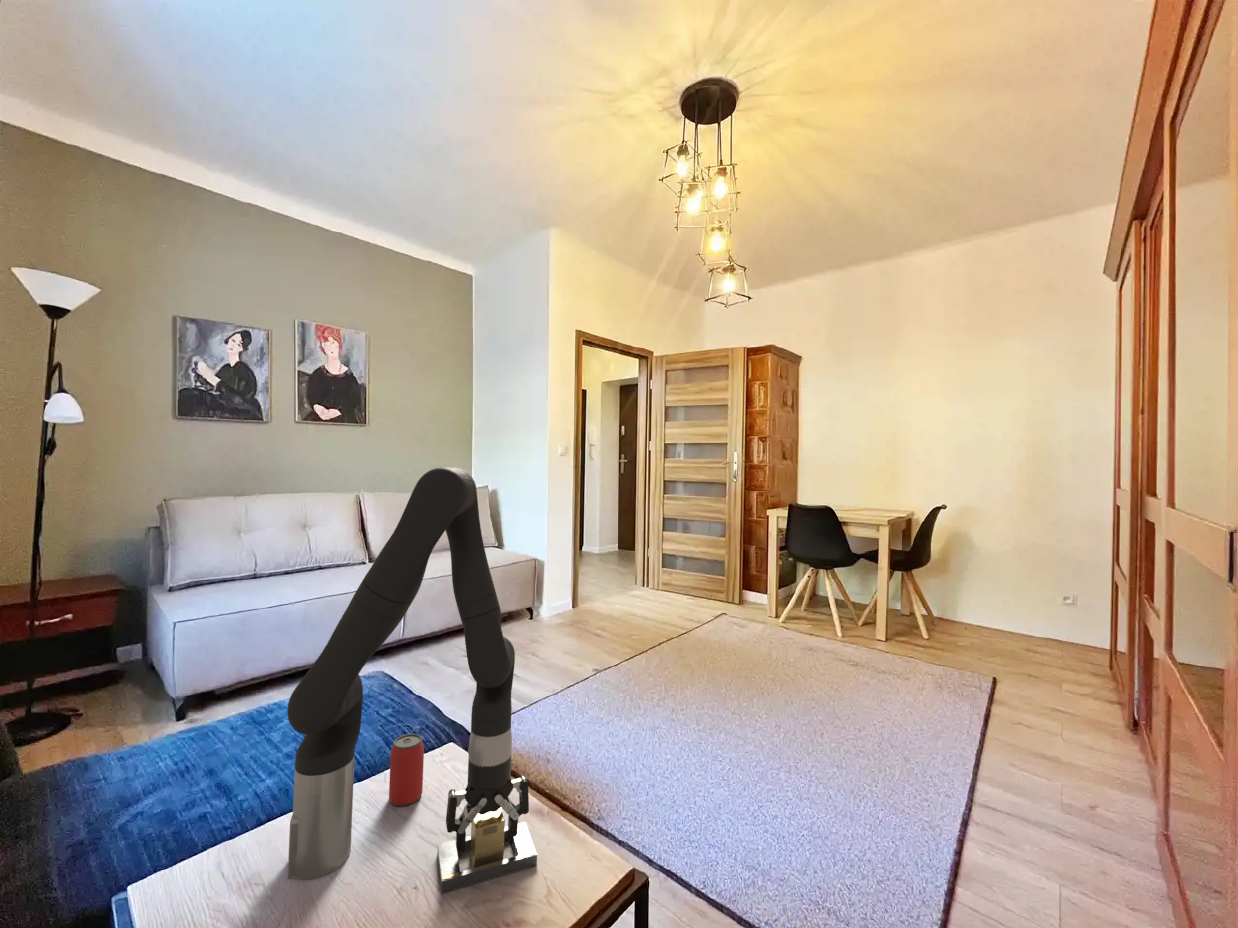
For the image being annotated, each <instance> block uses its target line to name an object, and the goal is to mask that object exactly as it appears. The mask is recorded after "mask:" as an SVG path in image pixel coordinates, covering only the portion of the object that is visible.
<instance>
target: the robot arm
mask: <svg viewBox="0 0 1238 928" xmlns="http://www.w3.org/2000/svg"><path fill="white" fill-rule="evenodd" d="M479 511H480V510H479V500H478V491H477V484H476V482H475V480H474V478H473V476H472V475H471V474H470V473H469V472H468V471H466V470H464V469H462V468H460V467H453V466H452V467H451V466H450V467H449V466H447V467H446V466H444V467H441V466H440V467H435V468H432V469H430V470H428V471H427V472H425V473H424V474H423V475H422V476H421V477H420V478H419V479H418V480H417V482H416V484H415V485H414V487H413V490H412V491H411V494H410V497H409V499H408V501H407V504H406V506H405V508H404V510H403V512H402V515H401V517H400V519H399V521H398V523H397V525H396V527H395V528H394V530H393V531H392V534H391V535H390V536H389V538H388V540H387V542H386V543H385V544H384V545H383V547H382V548H381V550H380V552H379V554H378V555H377V557H376V558H375V560H374V561H373V563H372V565H371V567H370V568H369V570H368V571H367V573H366V574H365V576H364V577H363V579H362V581H361V582H360V584H359V586H358V587H357V589H356V591H355V592H354V594H353V596H352V598H351V600H350V602H349V603H348V605H347V607H346V609H345V610H344V612H343V614H342V616H341V617H340V619H339V621H338V623H337V624H336V627H335V628H334V630H333V632H332V634H331V636H330V638H329V639H328V641H327V643H326V645H325V646H324V648H323V650H322V652H320V655H318V657H317V658H316V660H315V661H314V663H313V664H312V665H311V667H310V668H309V670H307V672H306V673H305V675H304V677H303V678H302V679H301V680H300V682H299V683H298V684H297V686H296V687H294V689H293V691H292V693H291V695H290V697H289V699H288V703H287V712H286V713H287V720H288V721H289V725H290V726H291V728H292V729H293V730H294V731H295V732H297V733H299V734H302V735H305V736H304V738H303V740H302V741H301V742H300V744H299V746H298V748H297V750H296V752H295V758H294V761H295V762H294V775H293V776H294V778H293V779H294V780H293V783H294V784H293V800H292V801H293V802H292V805H293V806H292V814H291V817H290V821H289V837H288V838H289V839H288V842H289V843H288V860H287V861H288V863H287V879H292V878H298V879H302V880H303V879H304V880H310V879H316V878H320V877H323V876H325V875H328V874H331V873H332V872H334V871H335V870H337V869H338V868H340V867H341V866H342V865H343V864H344V863H346V862H347V860H348V858H349V856H350V855H351V851H352V849H351V847H352V823H353V801H354V780H355V779H354V778H355V777H354V775H355V756H356V755H355V752H356V745H357V743H358V740H359V737H360V734H361V733H360V732H361V727H362V726H361V725H362V715H363V713H362V712H363V705H364V704H363V701H364V699H363V698H364V687H363V682H362V678H361V675H360V672H361V671H362V669H363V668H364V666H365V665H366V664H367V662H368V661H369V660H370V659H371V658H372V657H373V656H374V655H375V653H376V652H377V651H378V650H379V649H380V648H381V646H382V645H383V644H384V643H385V642H386V640H387V639H388V638H389V637H390V636H391V635H392V634H393V632H394V631H395V629H396V628H397V627H398V625H399V624H400V623H401V622H402V621H403V619H404V617H405V616H406V614H407V611H408V610H409V609H410V606H411V605H412V604H413V602H414V599H415V598H416V597H417V594H418V593H419V591H420V588H421V585H422V583H423V579H424V577H425V573H426V569H427V566H428V563H429V559H430V557H431V554H432V552H433V551H434V548H435V547H436V545H437V543H438V542H439V540H440V538H441V537H442V536H443V534H444V533H446V537H447V540H448V544H449V551H450V563H451V580H452V588H453V595H454V600H455V603H456V606H457V607H456V608H457V611H458V614H459V618H460V621H461V624H462V626H463V632H464V643H465V653H466V658H467V665H468V668H469V671H470V674H471V676H472V678H473V680H474V681H475V682H476V689H475V694H474V697H473V700H472V706H471V720H470V735H469V741H468V748H467V753H468V760H467V761H468V765H467V785H466V787H465V789H464V790H459V791H457V790H456V789H454V788H451V789H450V790H449V791H448V795H447V805H446V814H445V815H446V816H445V825H446V832H447V833H453V832H455V835H456V836H455V840H456V847H457V850H458V851H460V852H461V853H460V855H463V854H465V853H466V852H465V842H466V837H467V836H466V835H467V832H466V830H467V828H468V826H469V825H470V824H471V823H472V822H473V820H474V819H475V817H476V816H477V814H478V813H479V814H480V815H483V814H486V813H488V812H495V811H498V809H500V808H501V810H502V811H504V812H505V813H506V815H508V816H507V817H508V818H507V820H508V821H507V826H508V837H509V842H511V841H513V840H514V836H517V833H518V824H519V818H520V817H521V816H522V815H527V814H528V813H529V812H530V811H529V810H530V808H529V807H530V805H529V801H530V800H529V799H530V798H529V783H528V779H527V777H526V775H525V774H523V773H522V774H520V775H519V777H518V778H515V779H512V776H511V775H512V774H511V773H512V750H513V749H512V747H513V736H512V734H513V733H512V710H513V709H512V707H513V705H512V689H513V680H514V673H515V663H516V662H515V661H516V660H515V659H516V653H515V651H516V650H515V647H514V645H513V643H512V642H511V641H510V640H509V639H508V638H507V637H505V636H504V635H503V630H502V609H501V607H500V602H499V598H498V595H497V594H498V593H497V592H496V588H495V584H494V581H493V576H492V574H491V571H490V570H491V569H490V566H489V562H488V558H487V554H486V550H485V545H484V540H483V539H484V538H483V535H482V528H481V520H480V512H479ZM513 789H515V790H516V792H517V793H518V794H519V795H518V796H519V798H518V799H519V800H518V801H519V803H518V804H514V803H513V801H512V799H510V797H509V796H510V795H511V793H512V791H513ZM463 800H464V801H466V804H465V806H464V808H463V811H462V812H461V814H460V815H459V817H458V818H456V816H457V815H456V814H457V808H459V807H460V805H461V803H462V801H463Z"/></svg>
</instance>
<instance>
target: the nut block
mask: <svg viewBox="0 0 1238 928" xmlns="http://www.w3.org/2000/svg"><path fill="white" fill-rule="evenodd" d="M505 822H506V820H505V817H504V815H503V809H502V807H501V808H500V809H498V811H495V812H488V813H486V814H483V815H480V814H479V813H478V814H477V816H476V817H475V819H474V820H473V822H472V823H470V824H471V825H470V836H471V847H470V851H469V852H470V853H469V854H470V862H471V865H472V866H471V867H472V868H475V867H479V866H482V865H486V864H489V863H493V862H497V861H500V860H504V859H505V858H504V854H505V850H504V849H505V842H504V829H505V827H506V823H505Z"/></svg>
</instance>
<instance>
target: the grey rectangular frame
mask: <svg viewBox="0 0 1238 928" xmlns="http://www.w3.org/2000/svg"><path fill="white" fill-rule="evenodd" d="M508 841H509V842H510V843H511V847H512V849H513V852H514V856H512V857H508V858H503V860H500V861H497V862H493V863H489V864H486V865H482V866H479V867H475V868H473V867H472V868H468V869H464V870H461V868H460V863H459V854H460V855H461V852H460V851H458V850H457V847H456V839H453V840H449V841H445V842H441V843H438V844H437V853H436V854H437V863H438V864H437V865H438V874H439V882H440V884H439V885H440V892H441V894H445V893H449V892H452V891H455V890H460V889H463V888H467V887H469V886H473V885H476V884H477V885H478V884H480V883H483V882H486V881H491V880H493V879H497V878H500V877H504V876H507V875H511V874H515V873H518V872H521V871H524V870H527V869H531V868H535V867H537V866H538V853H537V851H536V847H535V845H534V843H533V840H532V837H531V834H530V832H529V828H528V825H527V823H526V821H523V822H520V823H519V822H518V833H517V836H514V840H513V841H510V840H509V837H508V825H507V826H505V829H504V843H505V842H508ZM470 847H471V835H468V836H466V842H465V853H467V852H470Z"/></svg>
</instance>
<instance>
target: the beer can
mask: <svg viewBox="0 0 1238 928" xmlns="http://www.w3.org/2000/svg"><path fill="white" fill-rule="evenodd" d="M424 752H425V747H424V742H423V739H422V736H421V735H419V734H417V733H416V734H415V733H408V734H403V735H401V736H399V737H397V738H396V739H395V740H394V741H393V746H392V747H391V750H390V761H389V764H390V765H389V785H388V786H389V788H388V801H389V802H390V803H391V804H392V805H395V806H399V807H400V806H401V807H402V806H404V807H405V806H408V805H411V804H413V803H414V802H417V801H418V800H419V799H420V797H422V795H423V787H424V786H423V784H424V763H425V762H424V759H425V757H424V756H425V753H424Z"/></svg>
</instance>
